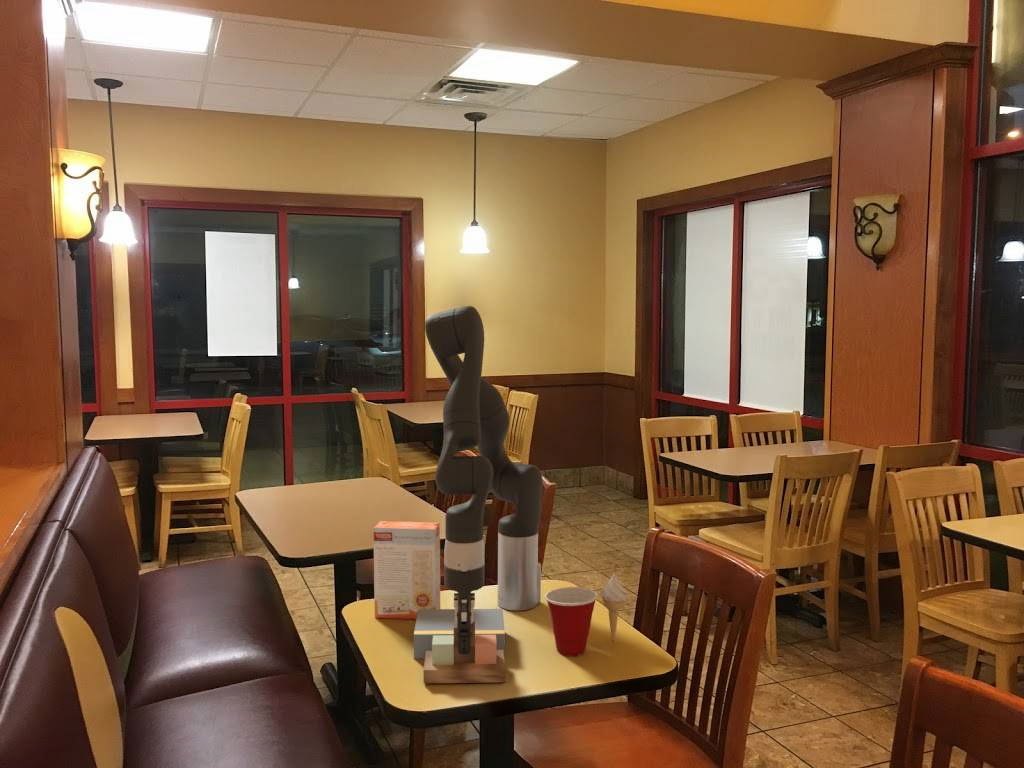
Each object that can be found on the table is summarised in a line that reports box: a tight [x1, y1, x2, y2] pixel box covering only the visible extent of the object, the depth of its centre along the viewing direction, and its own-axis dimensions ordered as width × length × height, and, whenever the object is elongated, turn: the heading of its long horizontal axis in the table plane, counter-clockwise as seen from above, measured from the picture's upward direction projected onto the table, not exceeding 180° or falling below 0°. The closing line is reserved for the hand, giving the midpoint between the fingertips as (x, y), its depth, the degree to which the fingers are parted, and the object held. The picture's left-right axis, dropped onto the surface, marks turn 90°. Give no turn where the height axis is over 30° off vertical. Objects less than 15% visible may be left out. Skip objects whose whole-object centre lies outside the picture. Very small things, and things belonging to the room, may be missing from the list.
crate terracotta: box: [475, 635, 496, 664], centre depth 158 cm, size 4×4×4 cm
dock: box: [413, 608, 506, 660], centre depth 172 cm, size 18×13×5 cm
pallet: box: [423, 621, 506, 684], centre depth 158 cm, size 15×8×10 cm, turn 93°
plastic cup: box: [544, 586, 599, 657], centre depth 170 cm, size 11×11×12 cm
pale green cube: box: [432, 635, 454, 665], centre depth 158 cm, size 4×4×4 cm
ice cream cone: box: [600, 572, 628, 642], centre depth 174 cm, size 6×6×15 cm
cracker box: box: [373, 520, 441, 620], centre depth 186 cm, size 14×6×21 cm, turn 84°
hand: (464, 649), depth 158 cm, fingers closed on pallet, 3 cm apart
